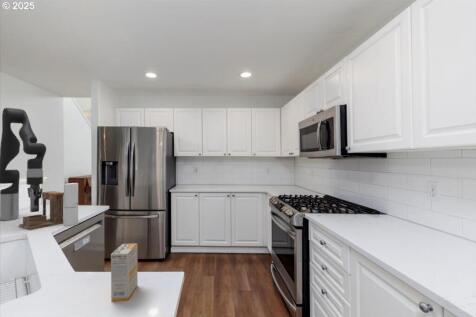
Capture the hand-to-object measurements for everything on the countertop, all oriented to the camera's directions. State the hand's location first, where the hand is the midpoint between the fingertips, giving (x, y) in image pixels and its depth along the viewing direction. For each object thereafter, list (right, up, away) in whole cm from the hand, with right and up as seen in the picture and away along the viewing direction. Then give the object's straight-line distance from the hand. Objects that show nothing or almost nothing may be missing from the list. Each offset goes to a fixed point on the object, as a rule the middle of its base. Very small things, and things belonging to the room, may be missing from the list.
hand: (34, 205), depth 144 cm
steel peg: (0, -4, 0) cm, 4 cm away
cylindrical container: (+19, -13, +4) cm, 23 cm away
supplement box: (+88, -12, -74) cm, 115 cm away
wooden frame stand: (+2, -13, +3) cm, 13 cm away
